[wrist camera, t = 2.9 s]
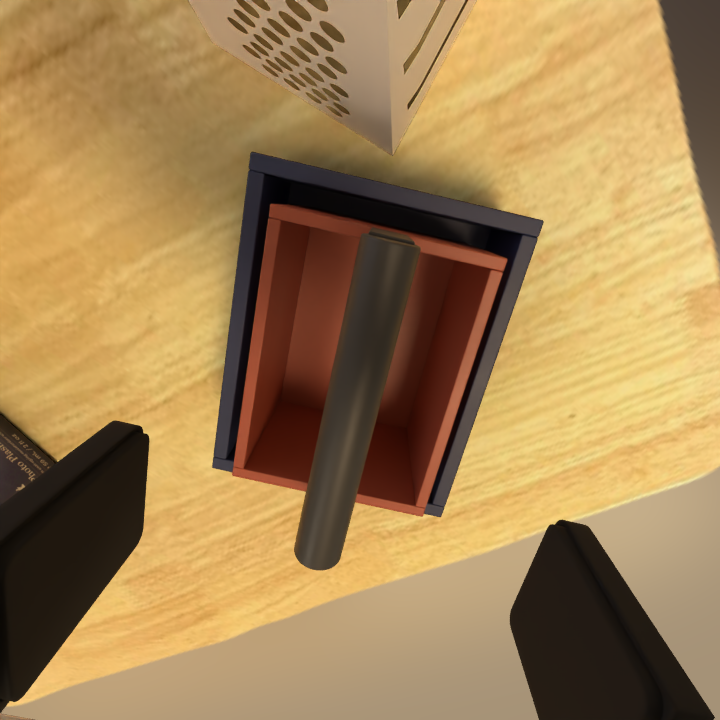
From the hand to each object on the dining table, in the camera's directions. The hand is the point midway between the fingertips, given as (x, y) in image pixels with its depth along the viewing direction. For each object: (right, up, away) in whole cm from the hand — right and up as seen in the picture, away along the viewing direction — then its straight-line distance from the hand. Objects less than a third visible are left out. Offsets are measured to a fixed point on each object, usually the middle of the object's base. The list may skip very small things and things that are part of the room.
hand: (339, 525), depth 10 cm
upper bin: (+1, +6, +15) cm, 17 cm away
